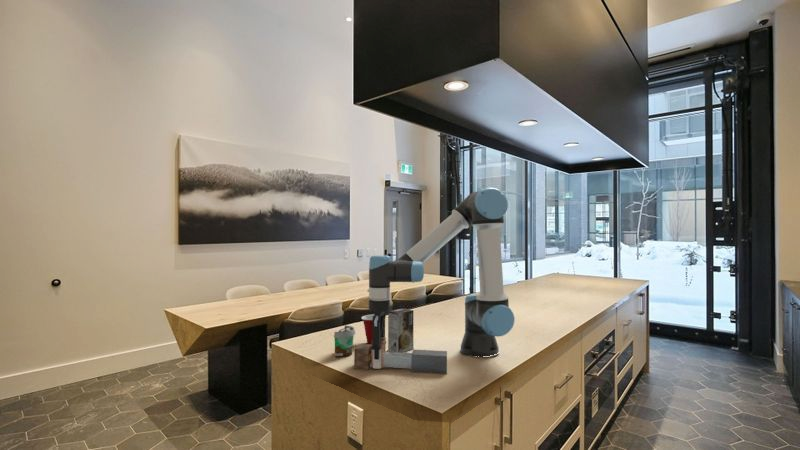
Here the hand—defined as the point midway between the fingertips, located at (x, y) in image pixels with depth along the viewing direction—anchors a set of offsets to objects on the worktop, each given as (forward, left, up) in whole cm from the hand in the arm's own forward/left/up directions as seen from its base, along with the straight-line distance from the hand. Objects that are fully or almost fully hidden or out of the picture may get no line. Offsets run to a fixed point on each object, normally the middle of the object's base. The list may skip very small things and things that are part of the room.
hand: (378, 365), depth 134 cm
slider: (-5, 0, 0) cm, 5 cm away
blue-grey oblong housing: (-18, 0, -1) cm, 18 cm away
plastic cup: (+8, -31, -1) cm, 32 cm away
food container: (+15, -13, -1) cm, 20 cm away
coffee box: (-5, -23, -1) cm, 24 cm away
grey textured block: (+6, 0, -1) cm, 6 cm away
